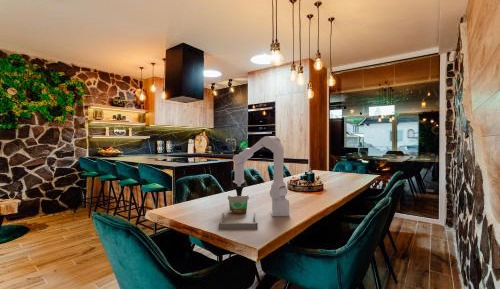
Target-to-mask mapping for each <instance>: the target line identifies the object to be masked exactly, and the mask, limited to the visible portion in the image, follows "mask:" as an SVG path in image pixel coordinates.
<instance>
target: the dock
mask: <svg viewBox="0 0 500 289" xmlns="http://www.w3.org/2000/svg"><path fill="white" fill-rule="evenodd" d="M224 220H225V213H224V212H222V213H221V215H220V218H219V224H218V227H219V230H253V229H254V230H255V229H256V230H257V229H259V228H258V227H259V225H258V224H259V223H258V218H257V213H256V212H253V221H254V222H224Z"/></svg>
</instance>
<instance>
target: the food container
mask: <svg viewBox="0 0 500 289" xmlns="http://www.w3.org/2000/svg"><path fill="white" fill-rule="evenodd" d="M249 199H250V196H249V195H241V196H237V195H235V196H230V195H228V196H227V200H228V205H229V213H230V214H231V215H234V214H235V216H236V215H238V216H240V215H241V214H242V215H245V214H246V213H247V211H248V210H247V209H248V201H249Z"/></svg>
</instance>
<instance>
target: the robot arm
mask: <svg viewBox="0 0 500 289" xmlns="http://www.w3.org/2000/svg"><path fill="white" fill-rule="evenodd" d="M262 148H266V149H269V150H270V151H271V153H273V181H272V183H271V186H270V190H269V197H271V210H270V214H271V216H272V217H290V199H289V198H286V196H287V194H288V188H287V184H286V182H285V181H284V161H285V160H284V158H285V156H284V147H283V145H282V143H281V139H280V138H279V137H278V136H276V135H273V136H267V135H266V136H262V137H261V138H260V139H259V140H258V141H257V142H256V143H255V144H253V145H252V146H251V147H245V148H243V151H240V152H239V153H238V154H234V156H233V157H232V162H233V164H234V180H232V183H234V189H235V191H236V196H243V195H242V193H243V189H244V183H245V163H246V162H247V160H249V159H250V158H251V157H253V156H254V153H255V152H257V151H259V150H261V149H262Z"/></svg>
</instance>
